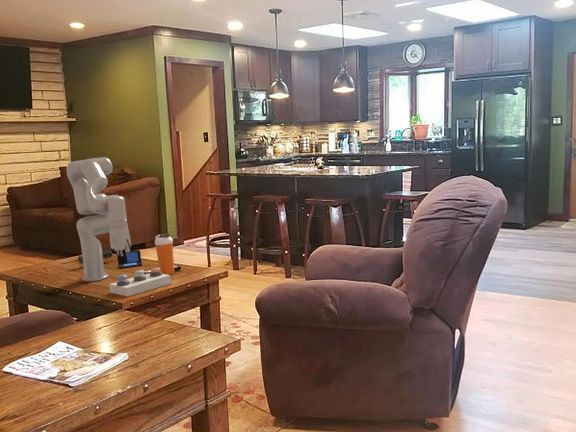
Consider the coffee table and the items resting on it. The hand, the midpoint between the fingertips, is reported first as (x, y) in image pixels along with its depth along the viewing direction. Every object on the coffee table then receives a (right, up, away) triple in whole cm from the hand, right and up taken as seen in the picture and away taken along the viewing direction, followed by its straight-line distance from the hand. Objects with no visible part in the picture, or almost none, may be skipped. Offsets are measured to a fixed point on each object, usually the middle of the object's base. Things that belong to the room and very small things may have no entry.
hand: (123, 264), depth 274 cm
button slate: (0, -7, 0) cm, 7 cm away
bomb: (-37, -7, +66) cm, 76 cm away
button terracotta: (+12, -5, +13) cm, 18 cm away
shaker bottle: (+13, -8, +33) cm, 36 cm away
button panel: (+6, -12, +8) cm, 15 cm away
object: (-12, -6, +59) cm, 61 cm away
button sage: (+6, -5, +7) cm, 10 cm away
